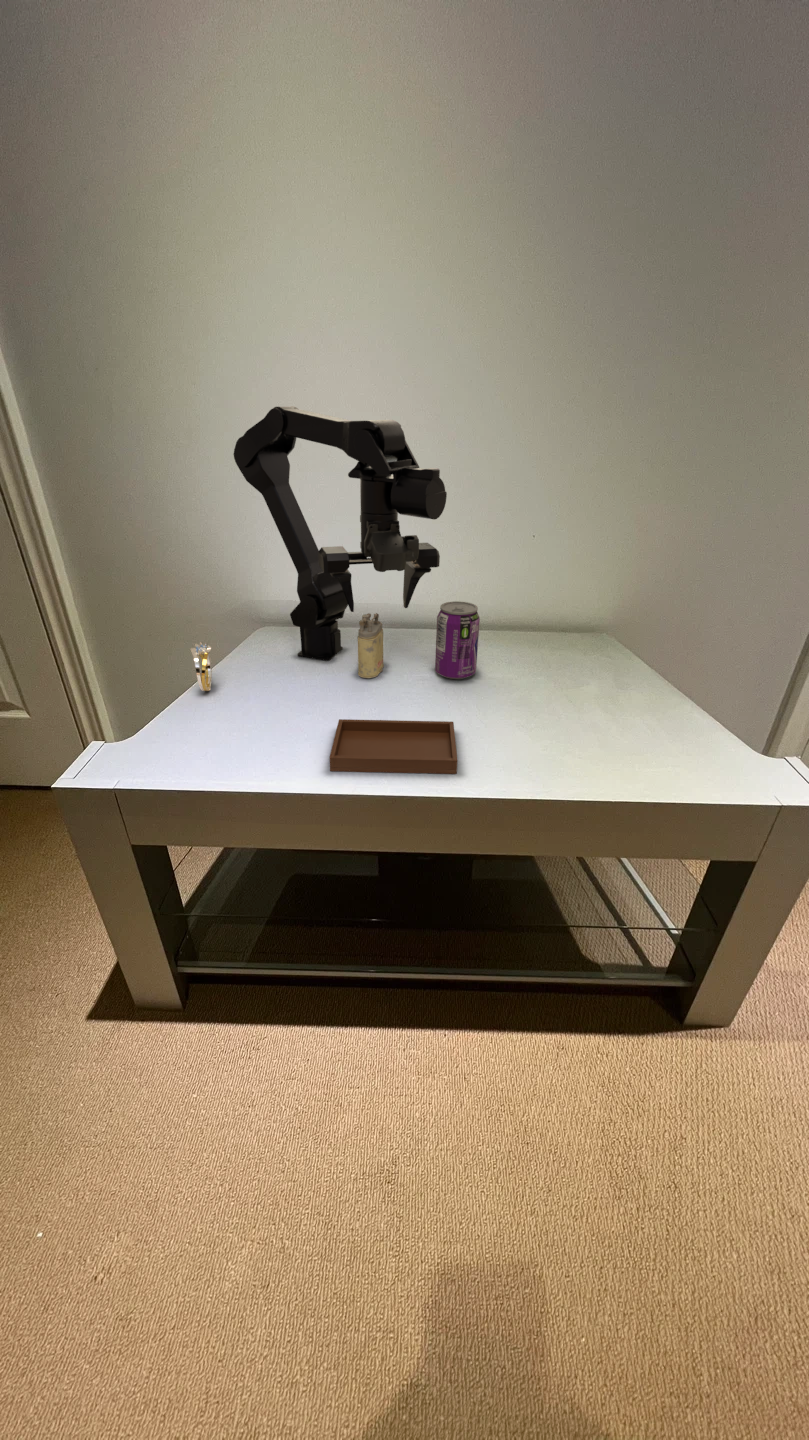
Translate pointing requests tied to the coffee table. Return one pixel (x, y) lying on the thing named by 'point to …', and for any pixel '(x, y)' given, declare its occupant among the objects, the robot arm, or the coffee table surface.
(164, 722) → the coffee table surface
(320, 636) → the robot arm
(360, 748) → the tray
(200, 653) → the ring
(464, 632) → the beverage can
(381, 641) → the worn yellow canister
